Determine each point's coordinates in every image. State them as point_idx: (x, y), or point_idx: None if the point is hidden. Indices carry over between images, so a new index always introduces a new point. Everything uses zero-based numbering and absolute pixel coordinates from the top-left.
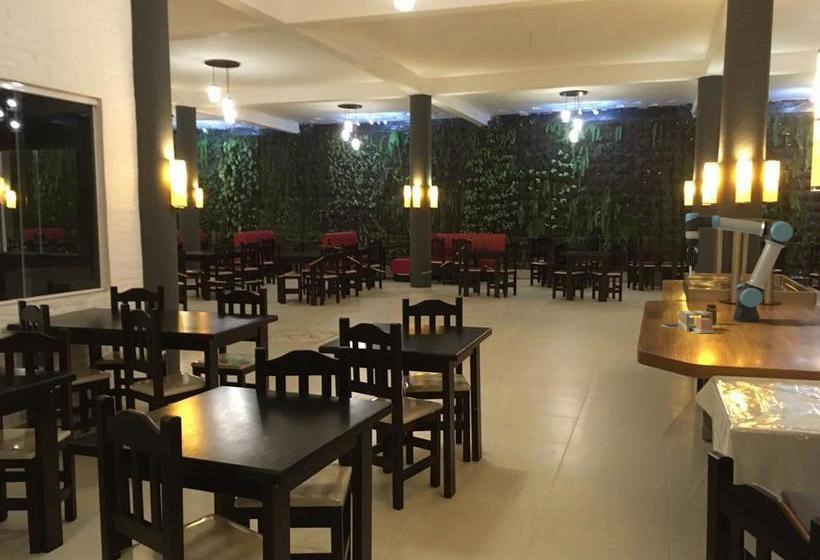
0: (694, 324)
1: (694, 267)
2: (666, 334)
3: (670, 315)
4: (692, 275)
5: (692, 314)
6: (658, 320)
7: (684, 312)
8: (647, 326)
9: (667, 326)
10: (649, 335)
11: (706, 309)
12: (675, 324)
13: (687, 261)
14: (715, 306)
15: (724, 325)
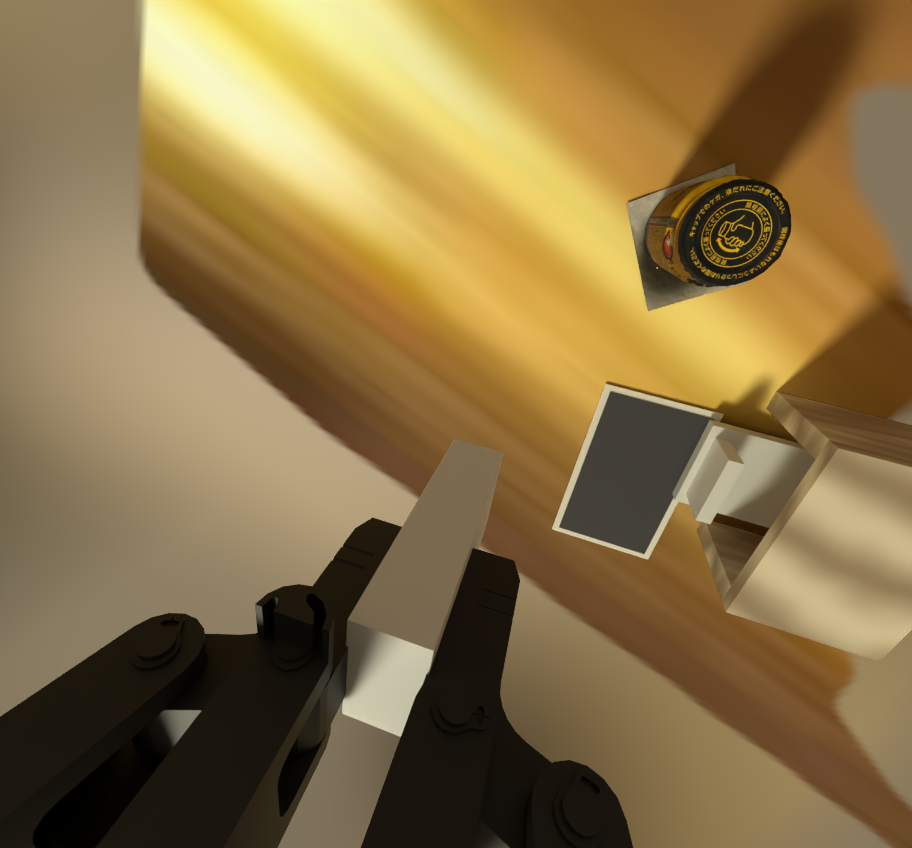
0: (742, 449)
1: (502, 660)
2: (816, 690)
3: (244, 242)
4: (489, 509)
5: (904, 626)
6: (405, 436)
7: (809, 627)
8: (558, 600)
9: (626, 547)
10: (781, 747)
11: (692, 283)
12: (590, 469)
13: (71, 799)
14: (785, 213)
15: (814, 169)
